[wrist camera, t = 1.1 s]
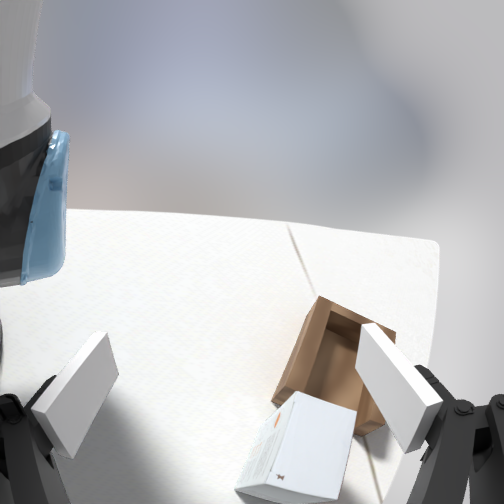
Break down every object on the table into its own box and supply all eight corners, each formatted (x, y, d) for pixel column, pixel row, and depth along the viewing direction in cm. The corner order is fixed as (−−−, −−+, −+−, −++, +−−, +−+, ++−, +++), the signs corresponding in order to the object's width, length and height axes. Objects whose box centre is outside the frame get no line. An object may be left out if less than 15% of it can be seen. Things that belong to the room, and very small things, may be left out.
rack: (270, 400, 29) (284, 385, 26) (306, 316, 39) (319, 295, 36) (361, 436, 27) (384, 424, 24) (378, 349, 37) (395, 332, 35)
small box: (285, 505, 20) (338, 503, 13) (231, 489, 20) (262, 485, 14) (307, 440, 26) (360, 409, 19) (259, 424, 26) (297, 388, 20)
